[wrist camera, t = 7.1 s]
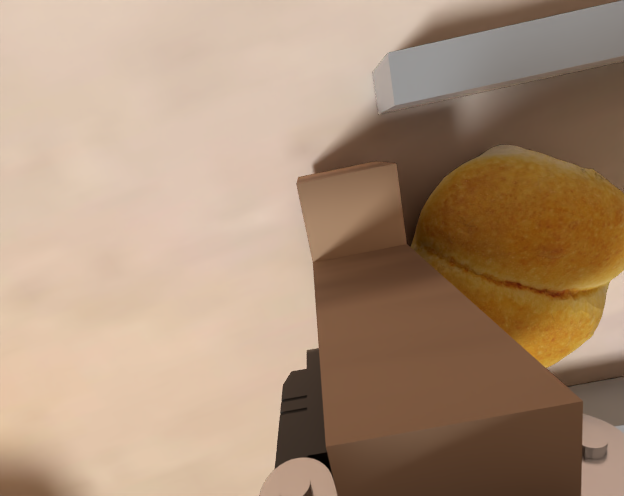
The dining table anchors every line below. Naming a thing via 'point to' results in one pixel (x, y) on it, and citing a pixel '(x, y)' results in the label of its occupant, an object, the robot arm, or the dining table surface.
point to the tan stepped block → (422, 363)
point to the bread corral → (507, 72)
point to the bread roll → (527, 244)
